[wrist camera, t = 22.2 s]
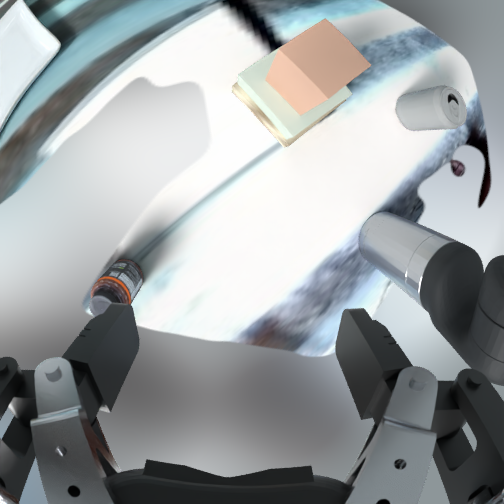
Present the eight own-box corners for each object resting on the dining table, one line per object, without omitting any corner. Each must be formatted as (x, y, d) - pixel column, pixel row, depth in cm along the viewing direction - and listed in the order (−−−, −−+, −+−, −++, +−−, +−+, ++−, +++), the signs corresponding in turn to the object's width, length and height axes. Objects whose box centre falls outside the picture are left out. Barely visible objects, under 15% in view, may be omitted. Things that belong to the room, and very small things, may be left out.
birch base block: (336, 104, 36) (346, 100, 32) (283, 147, 38) (288, 146, 34) (288, 52, 33) (293, 42, 29) (232, 92, 35) (232, 85, 31)
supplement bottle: (121, 295, 43) (96, 332, 32) (105, 264, 41) (74, 295, 30) (150, 285, 42) (129, 323, 32) (135, 252, 41) (107, 283, 30)
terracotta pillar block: (334, 87, 28) (371, 65, 19) (300, 115, 29) (328, 99, 20) (300, 53, 26) (325, 18, 17) (265, 79, 27) (278, 49, 18)
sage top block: (340, 100, 32) (352, 94, 28) (286, 139, 34) (293, 137, 30) (294, 46, 29) (301, 35, 26) (237, 83, 31) (238, 74, 27)
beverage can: (418, 97, 35) (464, 87, 24) (424, 131, 37) (471, 130, 26) (390, 94, 35) (435, 80, 24) (396, 131, 37) (443, 127, 26)
